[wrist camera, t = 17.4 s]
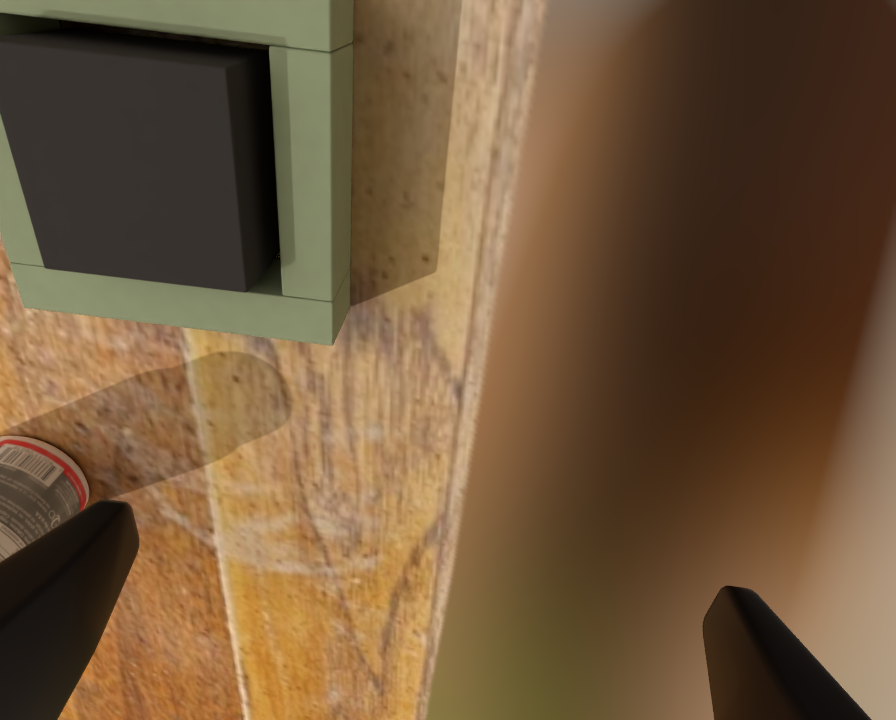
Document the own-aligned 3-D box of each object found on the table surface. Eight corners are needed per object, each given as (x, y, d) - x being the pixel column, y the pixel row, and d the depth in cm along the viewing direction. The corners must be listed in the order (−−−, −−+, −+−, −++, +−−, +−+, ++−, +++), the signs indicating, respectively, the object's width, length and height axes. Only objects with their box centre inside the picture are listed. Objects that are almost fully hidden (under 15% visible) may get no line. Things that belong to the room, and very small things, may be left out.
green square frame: (-17, -68, 15) (-99, -75, 13) (354, -24, 15) (331, -24, 13) (72, 274, 20) (23, 308, 18) (350, 308, 20) (333, 346, 18)
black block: (275, 51, 16) (226, 67, 13) (285, 245, 19) (247, 294, 16) (70, 26, 16) (-24, 37, 13) (113, 225, 19) (43, 269, 16)
